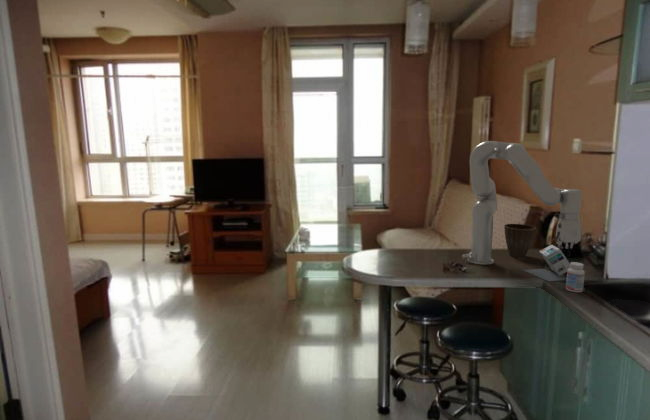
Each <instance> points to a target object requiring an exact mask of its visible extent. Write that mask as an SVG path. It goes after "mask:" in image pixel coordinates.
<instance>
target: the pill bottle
mask: <svg viewBox="0 0 650 420" xmlns="http://www.w3.org/2000/svg"><path fill="white" fill-rule="evenodd" d="M569 263H570V267H571V268H569V269H568V270H567V272H566V278H567V279H566V280H565V289H566V290H567V291H569V292H571V293H582V292H583V291H584V284H585V275H586V273H585V272H586V271H585V270H584V267H585V264H583V263H581V262H577V261H575V262H574V261H571V262H569Z"/></svg>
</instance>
